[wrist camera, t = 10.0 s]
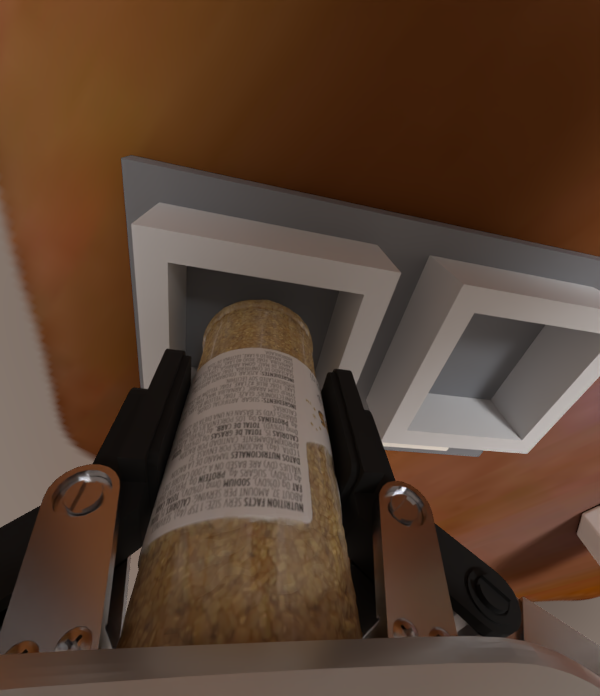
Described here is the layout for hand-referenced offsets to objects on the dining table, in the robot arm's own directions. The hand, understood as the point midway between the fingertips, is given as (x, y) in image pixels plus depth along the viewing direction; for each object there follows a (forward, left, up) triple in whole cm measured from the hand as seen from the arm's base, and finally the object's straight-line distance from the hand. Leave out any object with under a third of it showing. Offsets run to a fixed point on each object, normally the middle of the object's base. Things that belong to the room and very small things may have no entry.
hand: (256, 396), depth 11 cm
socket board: (+1, +6, -6) cm, 8 cm away
